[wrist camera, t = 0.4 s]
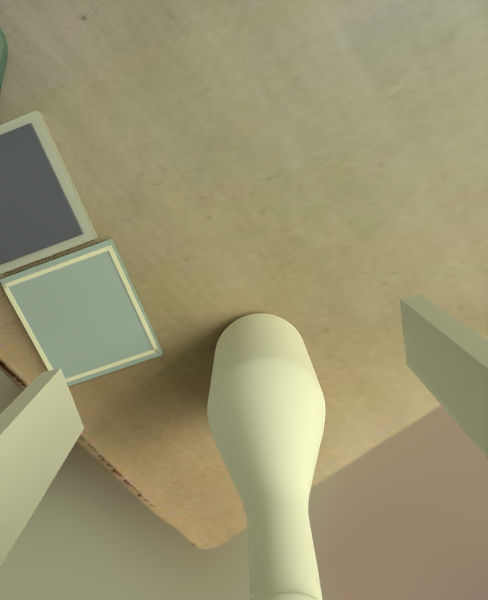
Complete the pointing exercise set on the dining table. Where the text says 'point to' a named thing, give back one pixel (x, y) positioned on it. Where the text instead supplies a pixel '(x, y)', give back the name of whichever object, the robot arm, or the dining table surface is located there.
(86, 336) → the board
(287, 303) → the dining table surface
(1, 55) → the flower pot
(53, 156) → the ink pad
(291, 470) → the wine bottle
